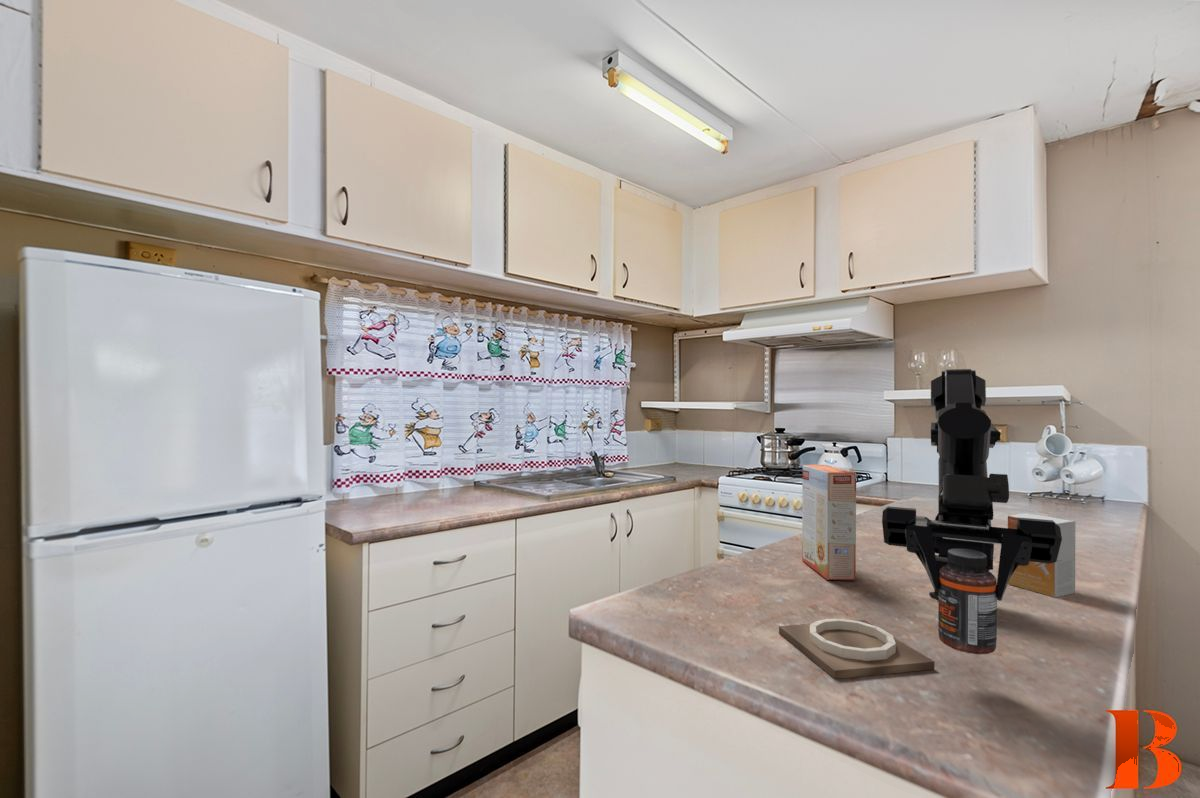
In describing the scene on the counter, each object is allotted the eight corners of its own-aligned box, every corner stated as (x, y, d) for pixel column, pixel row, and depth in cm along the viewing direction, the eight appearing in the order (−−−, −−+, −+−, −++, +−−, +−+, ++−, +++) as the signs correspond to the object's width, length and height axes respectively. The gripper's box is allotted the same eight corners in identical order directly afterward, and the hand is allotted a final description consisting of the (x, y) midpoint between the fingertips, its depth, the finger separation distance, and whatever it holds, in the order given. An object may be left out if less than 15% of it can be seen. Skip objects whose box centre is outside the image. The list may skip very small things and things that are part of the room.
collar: (861, 624, 84) (861, 616, 84) (912, 656, 73) (912, 647, 73) (795, 629, 82) (795, 621, 82) (839, 663, 71) (838, 653, 71)
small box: (1006, 584, 106) (1006, 515, 106) (1027, 580, 108) (1027, 512, 108) (1055, 598, 98) (1055, 523, 98) (1076, 593, 101) (1076, 520, 101)
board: (864, 626, 86) (864, 619, 86) (934, 669, 72) (934, 661, 72) (778, 632, 83) (778, 626, 83) (834, 678, 69) (834, 670, 69)
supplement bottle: (927, 635, 71) (926, 546, 71) (971, 634, 71) (971, 544, 71) (961, 657, 65) (961, 559, 65) (1009, 655, 65) (1009, 558, 65)
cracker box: (858, 581, 107) (858, 471, 107) (826, 581, 107) (826, 471, 107) (829, 560, 121) (829, 463, 121) (801, 560, 121) (800, 463, 121)
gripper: (882, 446, 76) (875, 547, 67) (1058, 453, 67) (1079, 571, 57) (887, 495, 83) (881, 593, 74) (1047, 508, 74) (1064, 621, 64)
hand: (967, 594), depth 67 cm, fingers closed on supplement bottle, 6 cm apart
